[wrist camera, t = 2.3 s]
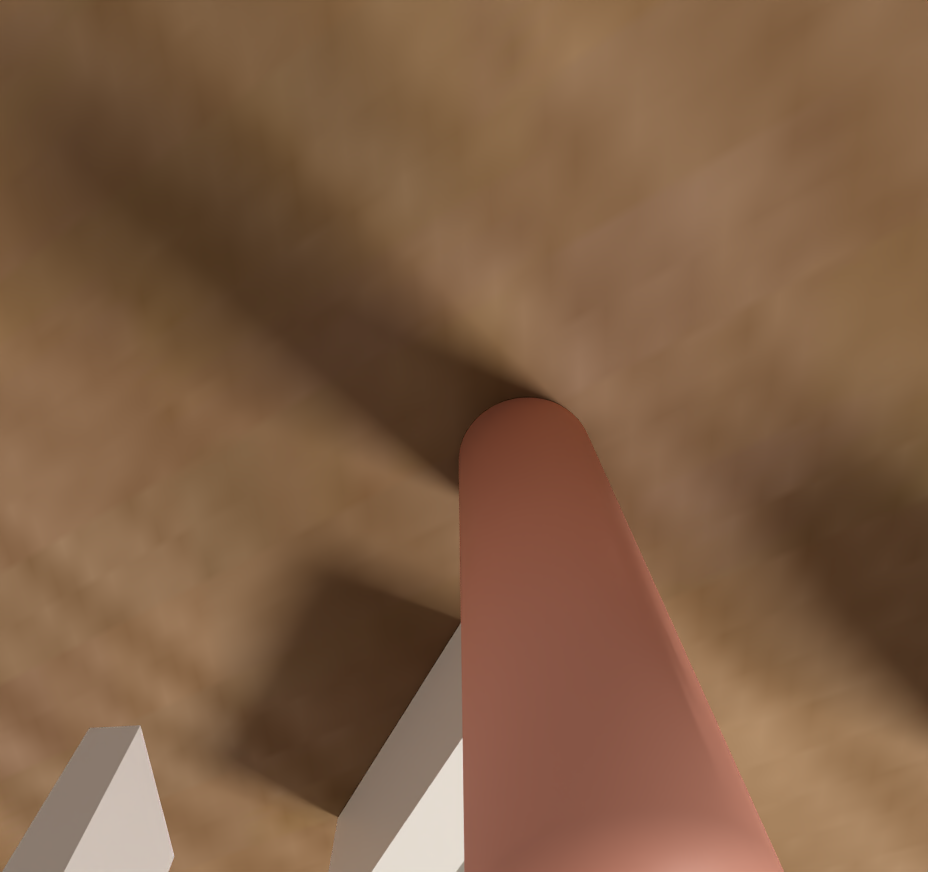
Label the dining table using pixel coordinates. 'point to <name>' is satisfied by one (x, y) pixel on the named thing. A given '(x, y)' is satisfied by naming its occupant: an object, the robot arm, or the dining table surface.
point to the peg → (579, 675)
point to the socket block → (412, 786)
